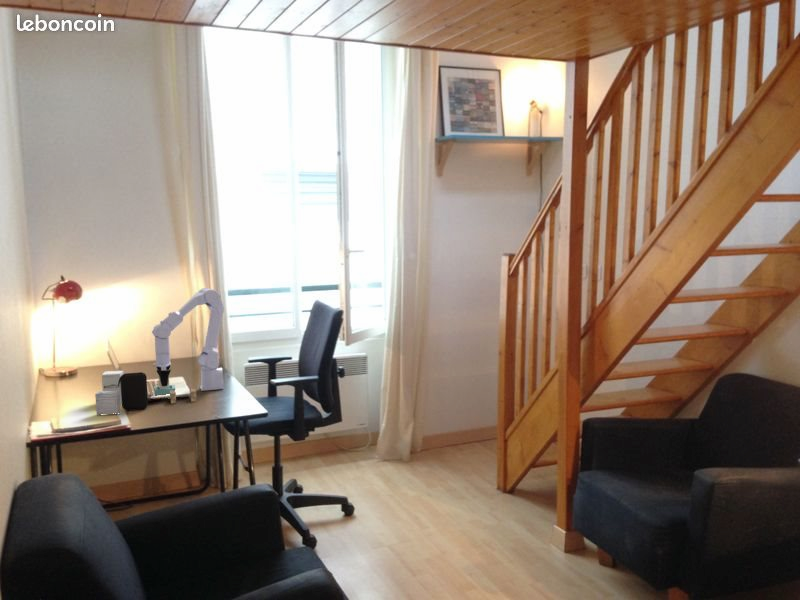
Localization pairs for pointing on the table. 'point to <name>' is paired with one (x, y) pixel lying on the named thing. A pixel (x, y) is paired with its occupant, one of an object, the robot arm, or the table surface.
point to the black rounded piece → (134, 391)
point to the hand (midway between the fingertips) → (164, 384)
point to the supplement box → (112, 381)
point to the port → (163, 390)
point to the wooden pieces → (173, 395)
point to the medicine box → (108, 402)
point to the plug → (164, 386)
